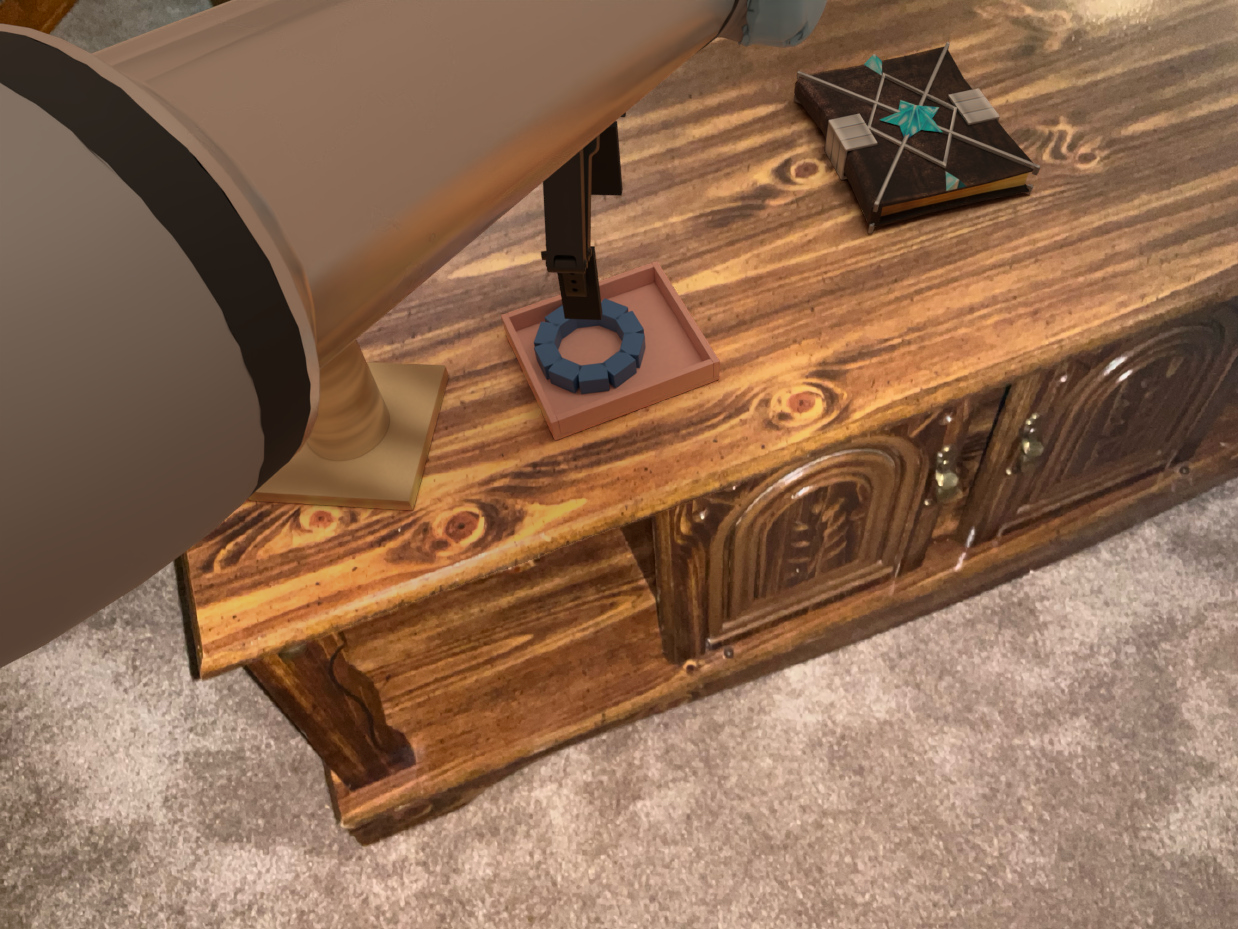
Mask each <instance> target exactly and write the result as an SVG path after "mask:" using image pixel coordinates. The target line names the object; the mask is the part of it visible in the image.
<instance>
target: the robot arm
mask: <svg viewBox="0 0 1238 929" xmlns="http://www.w3.org/2000/svg"><path fill="white" fill-rule="evenodd" d="M828 2H829V0H228V1H226V2H223V3H221V4H220V3H219V4H217V5H215V6H213V7H210V8H208V9H205V10H202V11H199V12H197V13H194V14H192V15H188V16H186V17H184V18H181V19H178V20H176V21H173V22H170V23H168V24H165V25H162V26H160V27H157V28H155V29H152V30H150V31H147V32H145V33H144V32H143V33H142V34H139V35H136V36H134V37H131V38H128V39H126V40H123V41H119V42H117V43H115V44H113V45H110V46H107V47H104V48H102V49H100V50H97V51H94V52H89V51H87V50H85V49H83V48H81V47H79V46H78V45H75V44H73V43H72V42H69V41H67V40H65V39H63V38H61V37H58V36H56V35H52V34H48V33H46V32H43V31H40V30H37V29H34V28H31V27H26V26H19V25H13V24H6V23H0V669H2V668H4V667H6V666H8V665H10V664H12V663H13V662H15V661H17V660H19V659H21V658H23V657H25V656H27V655H29V654H31V653H33V652H35V651H37V650H39V649H40V648H42V647H44V646H46V645H47V644H49V643H51V642H52V641H54V640H55V639H57V638H58V637H60V636H62V635H63V634H65V633H67V632H68V631H70V630H72V629H73V628H75V627H76V626H77V625H79V624H81V623H83V622H84V621H86V620H88V619H89V618H90V617H92V616H94V615H95V614H96V613H98V612H100V611H102V610H103V609H105V608H106V607H108V606H109V605H111V604H112V603H114V602H116V601H117V600H119V599H121V598H123V597H124V596H126V595H127V594H129V593H130V592H132V591H134V590H135V589H137V588H138V587H140V586H141V585H143V584H144V583H146V582H147V581H149V580H150V579H151V578H152V577H153V576H155V575H156V574H158V573H159V572H160V571H161V570H164V568H166V567H167V566H168V565H170V564H171V563H173V562H174V561H175V560H176V559H178V558H179V557H181V556H182V555H183V554H184V553H186V552H187V551H189V550H190V549H192V548H193V547H194V546H195V545H196V544H198V543H200V542H201V541H202V540H203V539H204V538H206V537H207V536H209V535H210V534H211V533H213V532H214V530H216V529H217V528H218V527H219V526H220V525H221V524H222V523H223V522H224V521H226V519H228V518H229V517H230V516H231V515H232V514H234V512H236V511H237V510H238V509H240V507H241V506H242V505H243V504H245V503H246V501H247V500H249V499H248V498H249V497H250V496H251V495H252V494H253V493H254V492H255V491H257V490H258V489H259V488H260V487H261V486H262V485H263V484H264V483H265V482H267V481H268V480H269V479H270V478H271V477H272V476H273V475H274V474H275V473H277V472H278V471H279V470H280V469H281V468H282V467H283V466H285V465H286V464H287V463H288V462H289V461H290V460H291V459H292V458H293V457H294V456H295V455H296V454H297V453H298V452H299V451H300V450H301V449H302V447H303V446H304V444H305V443H306V441H307V440H308V438H309V437H310V435H311V433H312V430H313V427H314V424H315V422H316V419H317V416H318V409H319V401H320V369H322V368H323V367H324V366H325V365H326V364H327V363H329V362H330V361H331V360H332V359H333V358H335V357H336V356H337V355H338V354H339V353H341V352H342V351H343V350H344V349H345V348H346V347H348V346H349V345H350V344H351V343H352V342H354V341H355V340H357V339H359V338H360V337H361V336H362V335H363V334H364V333H366V332H367V331H368V330H369V329H371V328H372V327H373V326H374V325H375V324H376V323H377V322H379V321H380V320H381V319H382V318H383V317H384V316H386V315H387V314H388V313H389V312H391V311H392V310H393V309H394V308H396V307H397V306H398V305H399V304H400V303H401V302H403V301H404V300H405V299H406V298H407V297H409V295H411V294H412V293H413V292H414V291H416V290H417V289H418V288H419V287H420V286H421V285H423V284H424V283H425V282H426V281H427V280H428V279H430V278H431V277H432V276H433V275H434V274H436V273H437V272H438V271H439V270H441V269H442V268H443V267H444V266H445V265H446V264H448V262H450V261H451V260H452V259H453V258H455V257H456V256H457V255H458V254H459V253H461V252H462V251H463V250H464V249H465V248H467V246H469V245H470V244H471V243H472V242H474V241H475V240H476V239H477V238H479V237H480V236H481V235H482V234H483V233H484V232H485V231H486V230H488V229H489V228H490V227H491V226H493V225H494V224H495V223H496V222H498V220H500V219H501V218H502V217H504V216H505V215H506V214H507V213H508V212H509V211H510V210H511V209H513V208H514V207H515V206H516V205H517V204H519V203H520V202H521V201H522V200H524V199H525V198H526V197H527V196H528V195H529V194H531V193H532V192H533V191H535V189H537V188H538V187H539V186H540V185H541V184H542V195H543V197H542V198H543V218H544V235H545V250H541V251H540V257H541V260H542V261H545V267H546V271H547V273H550V274H551V273H552V274H553V273H554V274H557V280H558V287H559V292H560V293H559V294H561V299H562V305H563V311H564V317H565V319H584V320H601V318H602V305H601V296H600V288H599V281H600V280H599V272H598V263H597V262H598V261H597V255H596V247H595V246H594V245H592V243H591V242H592V196H616V197H617V196H621V197H622V195H623V178H622V165H621V164H622V163H621V152H620V140H619V139H620V138H619V126H618V125H619V124H618V120H619V119H620V118H626V117H627V112H628V111H629V110H630V109H631V108H633V107H634V106H635V105H636V104H638V102H640V101H642V99H643V98H645V97H646V96H647V95H648V94H649V93H650V92H652V91H653V90H654V89H655V88H656V87H657V86H659V85H660V84H661V83H663V81H665V80H666V79H667V78H668V77H669V76H671V75H672V74H673V73H674V72H675V71H677V70H678V69H679V68H680V67H681V66H683V65H684V64H685V63H686V62H687V61H689V60H690V59H691V58H692V57H693V56H694V55H696V54H697V53H698V52H700V51H702V50H703V49H704V48H706V47H707V46H708V45H709V44H711V43H712V42H714V41H715V40H716V39H718V38H719V39H720V38H721V39H726V40H730V41H733V42H737V44H738V46H744V47H745V48H746V47H751V46H752V45H753V46H764V47H771V48H779V49H780V48H781V49H785V48H786V49H788V48H793V47H794V48H795V47H796V46H799V45H800V44H802V43H803V42H804V41H806V40H807V38H809V37H810V36H811V34H812V33H813V32H814V31H815V29H816V27H817V26H818V24H819V22H820V20H821V17H822V15H823V13H824V11H825V9H826V6H827V3H828Z"/></svg>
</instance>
